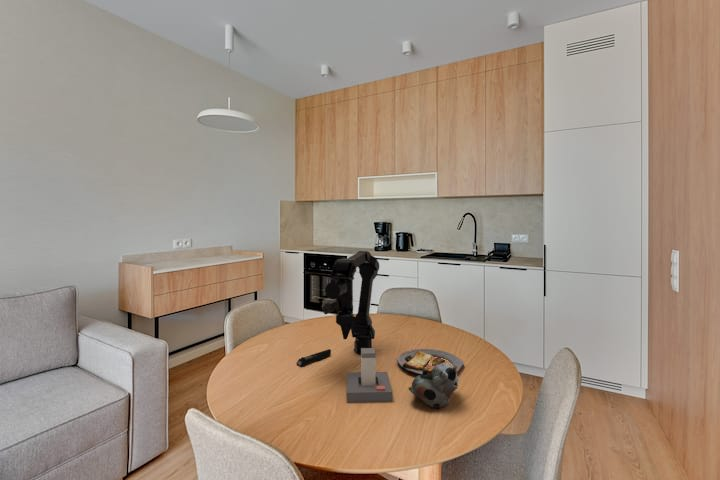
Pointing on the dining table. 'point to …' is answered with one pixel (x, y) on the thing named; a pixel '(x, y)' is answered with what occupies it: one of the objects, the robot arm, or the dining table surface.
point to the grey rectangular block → (368, 367)
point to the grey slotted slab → (368, 388)
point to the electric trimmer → (313, 358)
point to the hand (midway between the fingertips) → (345, 334)
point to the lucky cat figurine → (436, 385)
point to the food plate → (426, 360)
